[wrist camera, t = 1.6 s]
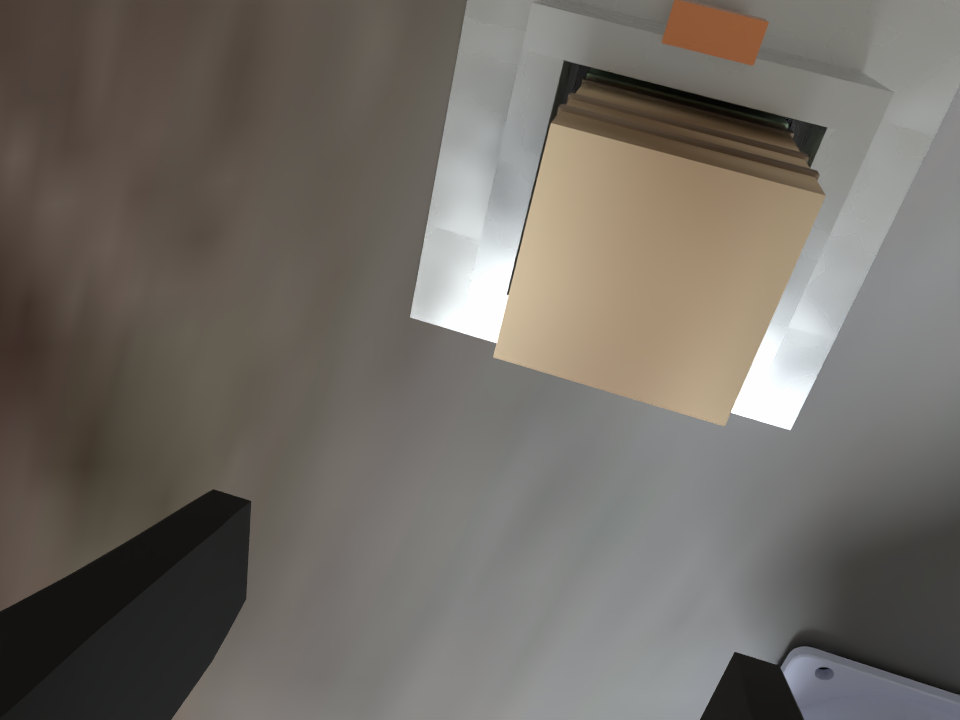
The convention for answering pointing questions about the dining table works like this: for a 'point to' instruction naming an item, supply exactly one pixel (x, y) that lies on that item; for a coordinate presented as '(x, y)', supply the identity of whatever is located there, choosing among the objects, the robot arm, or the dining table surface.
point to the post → (657, 244)
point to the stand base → (712, 73)
